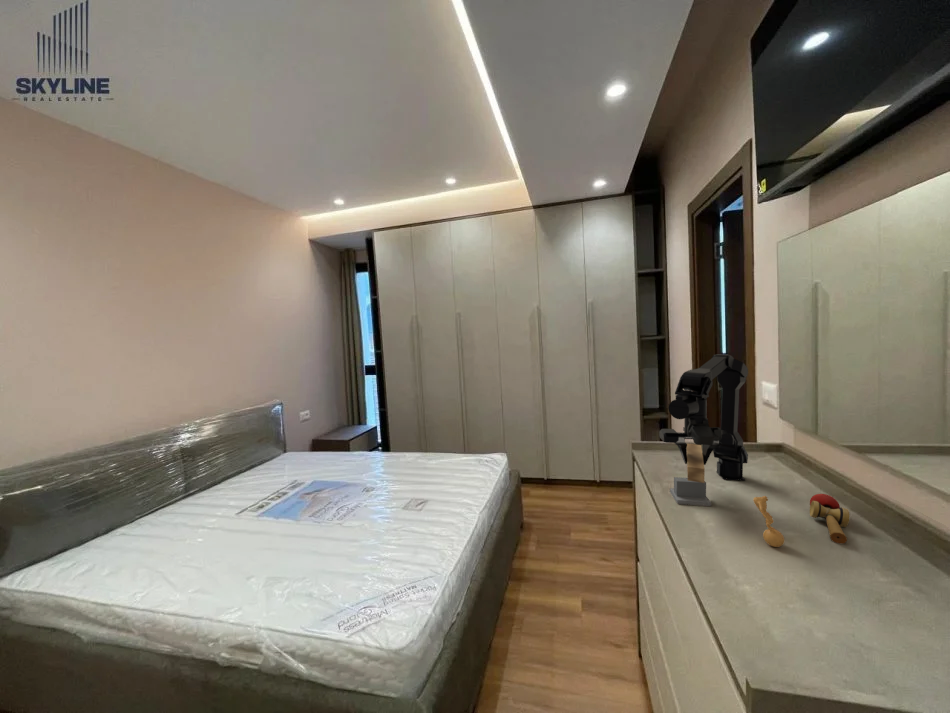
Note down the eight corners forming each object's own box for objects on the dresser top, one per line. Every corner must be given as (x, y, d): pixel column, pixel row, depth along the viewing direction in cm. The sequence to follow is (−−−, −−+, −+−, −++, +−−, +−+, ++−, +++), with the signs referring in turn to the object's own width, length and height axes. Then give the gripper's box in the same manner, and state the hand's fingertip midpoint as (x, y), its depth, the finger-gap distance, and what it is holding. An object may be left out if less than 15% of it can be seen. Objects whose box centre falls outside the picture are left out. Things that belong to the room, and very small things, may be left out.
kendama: (865, 554, 85) (843, 510, 100) (860, 529, 85) (839, 489, 99) (820, 549, 90) (806, 508, 105) (816, 526, 89) (802, 487, 104)
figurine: (787, 557, 83) (788, 507, 82) (754, 549, 87) (755, 501, 86) (781, 538, 90) (782, 492, 89) (750, 532, 94) (751, 487, 92)
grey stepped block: (701, 493, 115) (701, 475, 114) (711, 506, 107) (711, 486, 107) (669, 491, 117) (669, 473, 117) (677, 503, 109) (677, 484, 109)
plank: (700, 456, 119) (701, 445, 119) (704, 482, 100) (704, 468, 100) (686, 455, 121) (686, 443, 121) (687, 480, 102) (687, 466, 102)
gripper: (669, 419, 104) (669, 472, 105) (744, 421, 100) (742, 476, 101) (658, 410, 115) (658, 458, 116) (725, 411, 110) (724, 461, 112)
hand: (694, 463), depth 111 cm, fingers closed on plank, 5 cm apart
